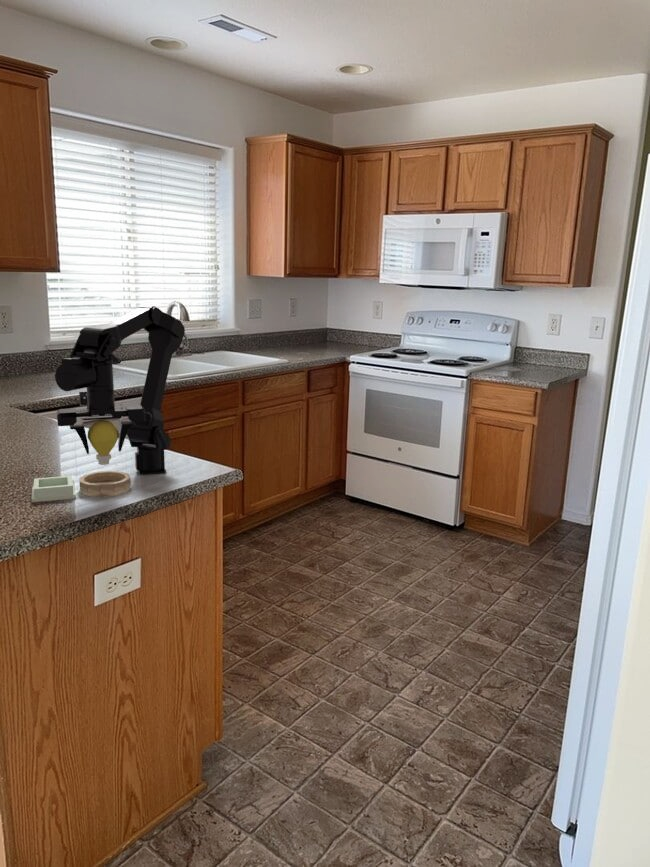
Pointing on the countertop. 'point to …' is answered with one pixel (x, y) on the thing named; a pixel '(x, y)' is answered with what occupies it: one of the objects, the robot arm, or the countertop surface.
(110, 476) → the round cradle
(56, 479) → the square socket
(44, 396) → the countertop surface
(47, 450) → the countertop surface
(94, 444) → the light bulb
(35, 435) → the countertop surface
